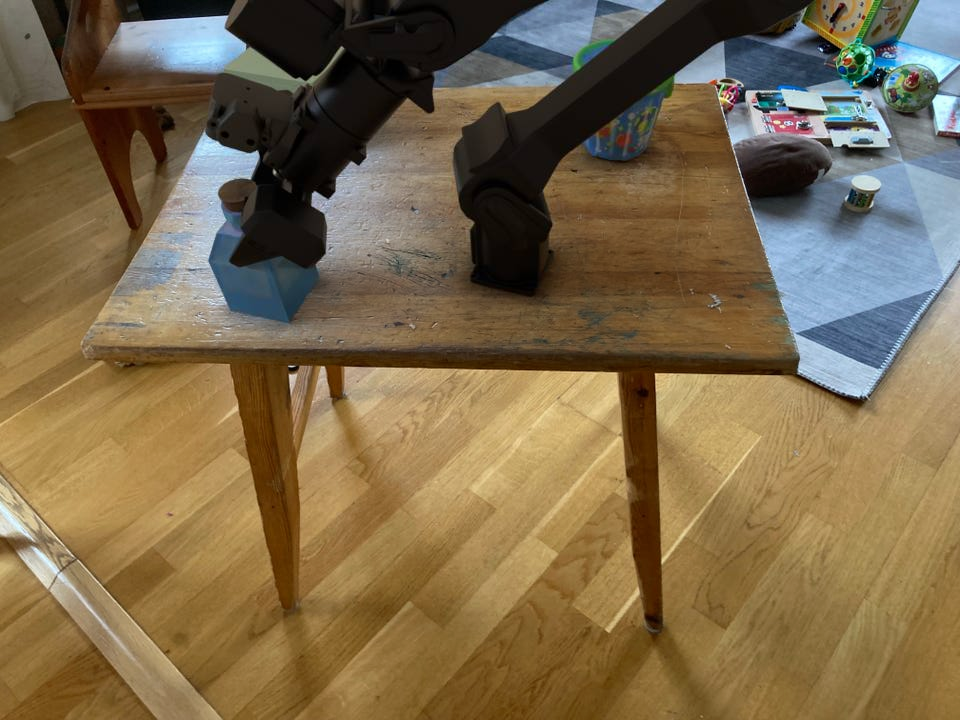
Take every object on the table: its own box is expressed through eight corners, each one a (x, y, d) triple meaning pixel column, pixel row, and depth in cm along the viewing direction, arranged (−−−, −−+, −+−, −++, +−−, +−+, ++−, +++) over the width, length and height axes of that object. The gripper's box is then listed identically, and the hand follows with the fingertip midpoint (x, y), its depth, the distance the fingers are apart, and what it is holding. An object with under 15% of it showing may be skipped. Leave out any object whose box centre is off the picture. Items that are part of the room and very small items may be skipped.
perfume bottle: (289, 323, 67) (251, 219, 58) (230, 310, 69) (184, 207, 60) (319, 277, 71) (288, 173, 62) (262, 266, 72) (223, 162, 63)
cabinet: (365, 112, 92) (353, 44, 86) (327, 153, 86) (312, 83, 80) (285, 98, 95) (268, 31, 89) (243, 136, 89) (222, 68, 83)
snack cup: (635, 105, 91) (646, 21, 83) (698, 143, 85) (715, 56, 77) (532, 147, 85) (534, 62, 78) (591, 190, 79) (598, 102, 72)
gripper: (263, -9, 59) (169, 127, 67) (236, 111, 47) (125, 261, 54) (374, 77, 65) (277, 193, 73) (378, 203, 53) (260, 326, 61)
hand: (238, 236), depth 65 cm, fingers closed on perfume bottle, 7 cm apart
